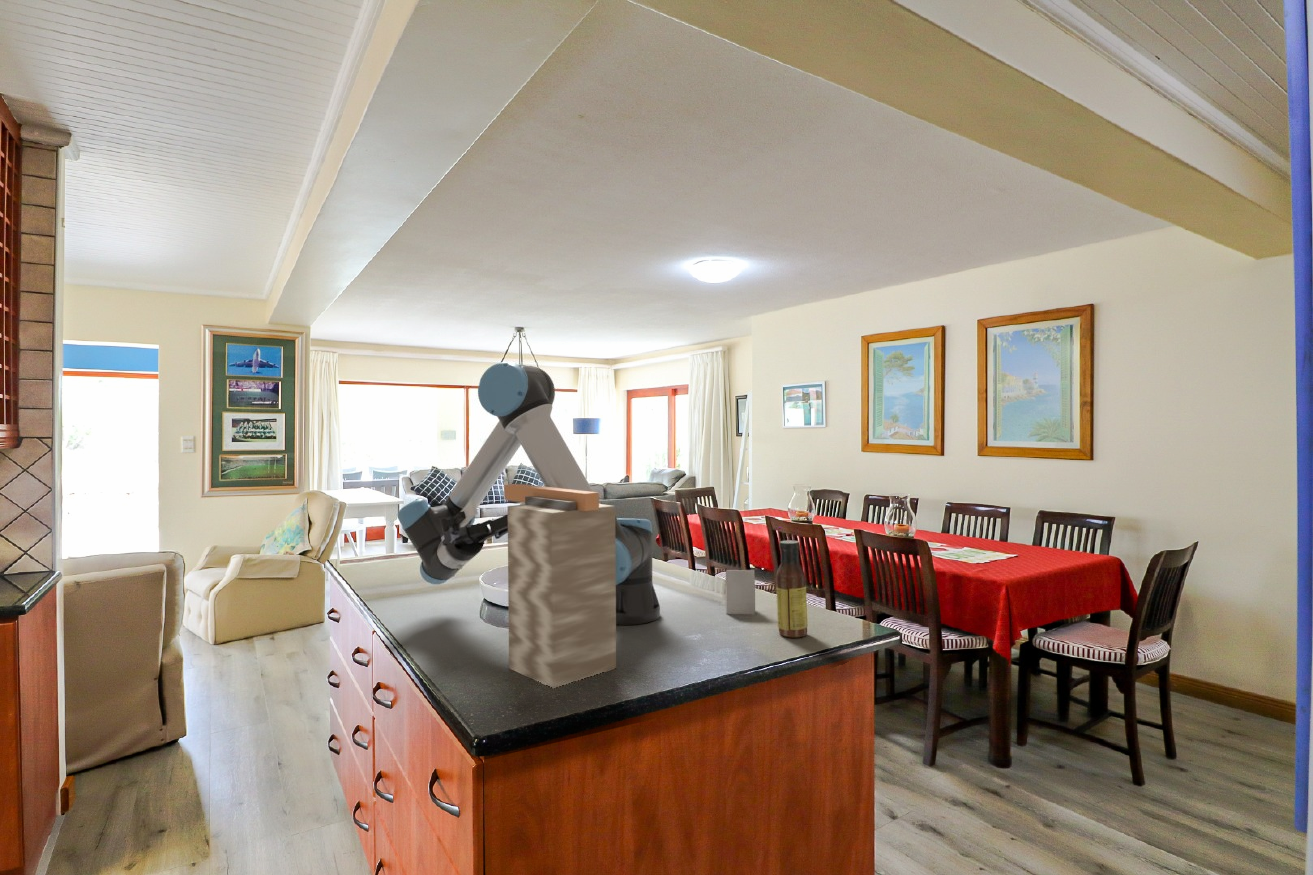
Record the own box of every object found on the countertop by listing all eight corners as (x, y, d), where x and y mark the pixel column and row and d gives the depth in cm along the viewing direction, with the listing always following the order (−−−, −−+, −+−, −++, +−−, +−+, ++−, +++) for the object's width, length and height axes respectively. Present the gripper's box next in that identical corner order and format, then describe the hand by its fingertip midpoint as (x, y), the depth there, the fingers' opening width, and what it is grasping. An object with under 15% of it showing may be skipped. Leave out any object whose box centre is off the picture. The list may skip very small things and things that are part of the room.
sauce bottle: (810, 632, 149) (810, 540, 149) (803, 640, 144) (803, 544, 143) (780, 628, 152) (780, 538, 152) (772, 636, 147) (772, 542, 146)
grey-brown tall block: (509, 668, 128) (507, 498, 128) (570, 650, 138) (568, 492, 137) (553, 688, 118) (552, 504, 118) (616, 668, 128) (615, 497, 127)
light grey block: (755, 614, 164) (755, 571, 164) (726, 614, 164) (726, 571, 164) (753, 609, 168) (753, 568, 167) (725, 609, 168) (725, 568, 168)
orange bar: (504, 499, 139) (504, 484, 139) (517, 498, 141) (517, 483, 141) (585, 511, 120) (585, 493, 120) (598, 509, 122) (598, 492, 122)
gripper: (514, 553, 161) (560, 514, 148) (410, 570, 144) (451, 527, 131) (505, 524, 164) (550, 483, 150) (402, 536, 147) (442, 491, 133)
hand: (504, 503), depth 140 cm, fingers open, 13 cm apart
